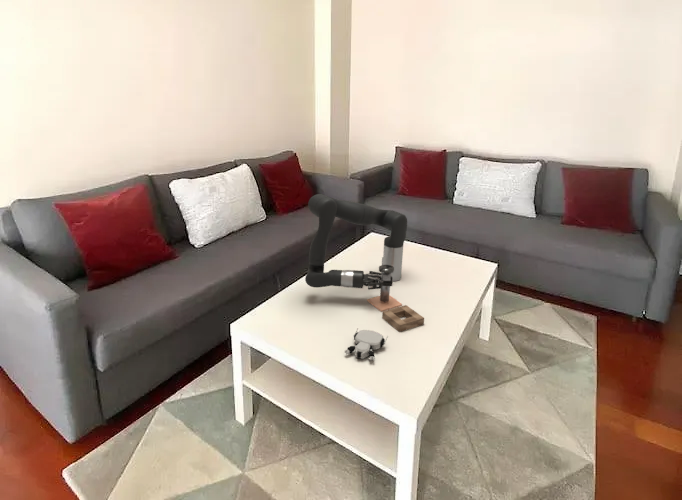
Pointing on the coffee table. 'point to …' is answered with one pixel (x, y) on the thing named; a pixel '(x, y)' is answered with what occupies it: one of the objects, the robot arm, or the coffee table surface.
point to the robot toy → (366, 343)
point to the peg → (385, 276)
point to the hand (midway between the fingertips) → (392, 281)
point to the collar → (403, 324)
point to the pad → (384, 303)
